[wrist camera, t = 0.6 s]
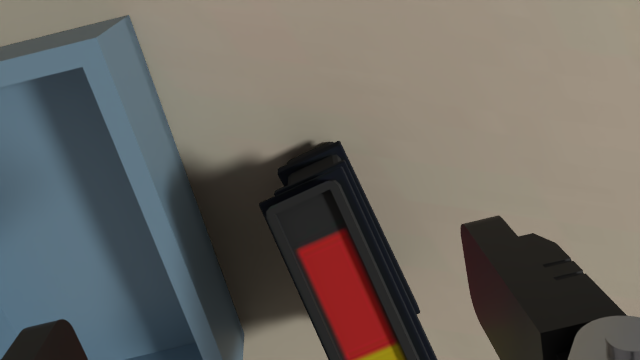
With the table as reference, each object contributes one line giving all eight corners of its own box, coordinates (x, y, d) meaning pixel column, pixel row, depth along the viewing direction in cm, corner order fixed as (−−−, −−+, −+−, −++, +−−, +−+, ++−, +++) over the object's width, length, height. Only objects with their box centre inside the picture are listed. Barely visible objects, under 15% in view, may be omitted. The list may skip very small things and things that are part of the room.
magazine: (376, 349, 37) (372, 474, 22) (292, 164, 37) (232, 164, 22) (429, 327, 37) (463, 439, 22) (344, 140, 37) (320, 124, 22)
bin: (-138, 81, 29) (-231, 118, 24) (128, 15, 29) (96, 37, 23) (39, 382, 38) (1, 460, 32) (244, 333, 38) (240, 404, 32)
